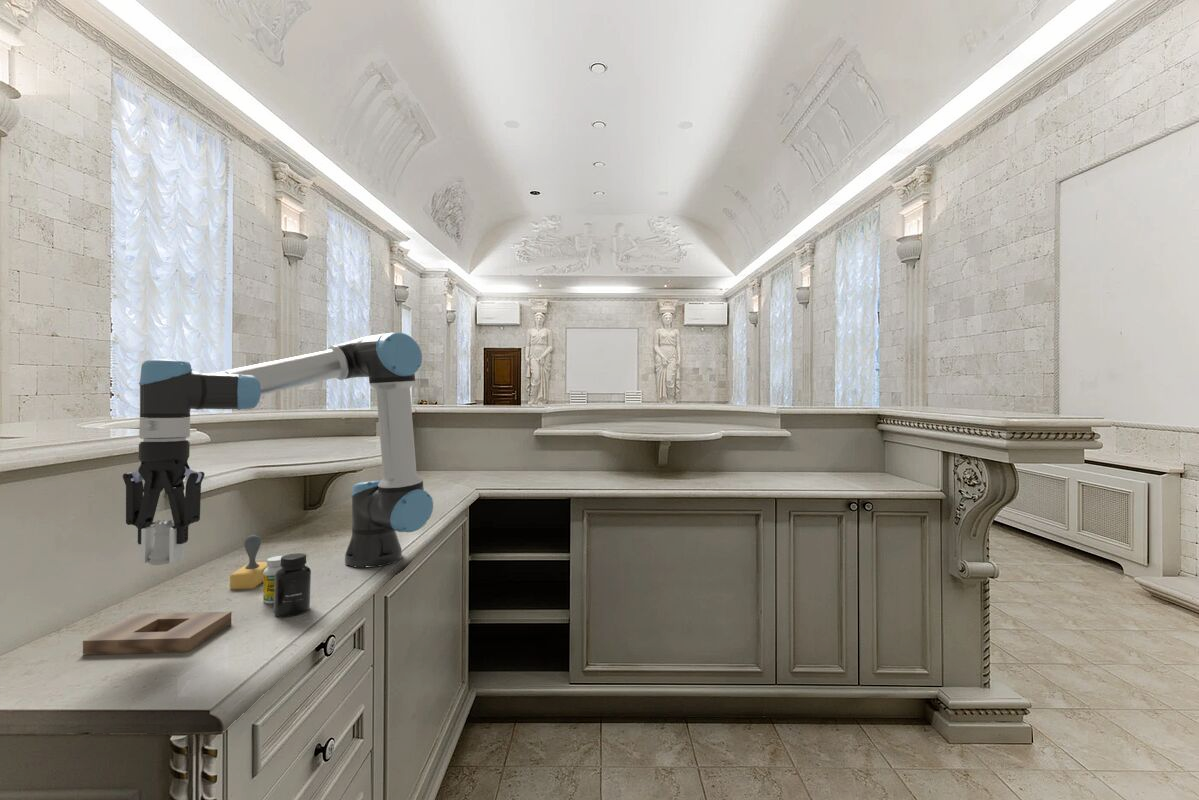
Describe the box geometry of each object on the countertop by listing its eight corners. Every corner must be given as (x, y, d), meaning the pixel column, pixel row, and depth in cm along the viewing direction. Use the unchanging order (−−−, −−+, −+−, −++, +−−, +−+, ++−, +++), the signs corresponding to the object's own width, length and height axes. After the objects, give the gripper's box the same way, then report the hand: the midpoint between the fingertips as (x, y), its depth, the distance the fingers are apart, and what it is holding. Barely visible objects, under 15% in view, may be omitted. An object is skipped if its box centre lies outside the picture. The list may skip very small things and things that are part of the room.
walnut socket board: (231, 623, 105) (231, 611, 105) (188, 651, 93) (188, 638, 93) (138, 626, 104) (138, 613, 104) (82, 654, 92) (82, 640, 92)
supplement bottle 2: (289, 619, 107) (290, 562, 107) (266, 614, 109) (266, 558, 110) (317, 607, 114) (318, 553, 114) (295, 603, 116) (295, 550, 116)
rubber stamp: (249, 576, 134) (249, 530, 134) (273, 575, 135) (273, 529, 136) (229, 589, 125) (229, 540, 125) (255, 588, 126) (256, 539, 126)
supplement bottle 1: (290, 593, 122) (290, 553, 122) (291, 601, 117) (291, 559, 117) (262, 598, 119) (263, 557, 119) (262, 606, 114) (263, 563, 114)
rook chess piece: (143, 566, 96) (144, 524, 96) (153, 560, 100) (153, 519, 100) (173, 564, 98) (173, 522, 98) (181, 557, 102) (182, 517, 102)
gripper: (99, 441, 95) (96, 567, 94) (198, 441, 96) (196, 566, 95) (133, 438, 102) (131, 555, 102) (225, 438, 103) (223, 554, 103)
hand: (162, 560), depth 99 cm, fingers closed on rook chess piece, 4 cm apart
